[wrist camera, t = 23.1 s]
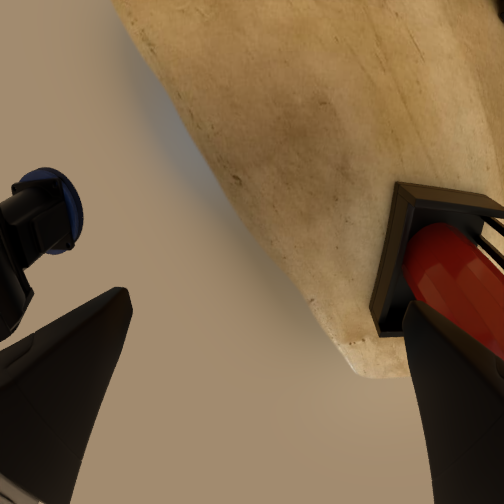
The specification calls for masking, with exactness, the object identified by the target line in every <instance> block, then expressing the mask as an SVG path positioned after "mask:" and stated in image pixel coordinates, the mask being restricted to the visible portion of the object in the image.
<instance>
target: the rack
mask: <svg viewBox="0 0 504 504" xmlns="http://www.w3.org/2000/svg"><path fill="white" fill-rule="evenodd" d="M495 218H501V219H504V207H503V206H501V205H500V204H498V203H497V202H495V201H494V200H492V199H491V198H489V197H487V196H486V195H482V194H477V193H471V192H465V191H459V190H453V189H447V188H440V187H434V186H426V185H419V184H411V183H403V182H395V187H394V193H393V200H392V206H391V211H390V217H389V222H388V228H387V233H386V238H385V243H384V247H383V252H382V257H381V261H380V266H379V270H378V274H377V278H376V282H375V286H374V290H373V294H372V298H371V301H370V305H369V309H370V312H371V315H372V318H373V321H374V324H375V327H376V330H377V333H378V336H379V338H382V337H404V335H403V330H402V321H403V318H404V315H405V313H406V310H407V307H408V304H409V303H410V301H416V299H415V297H414V295H413V294H412V292H411V290H410V288H409V286H408V285H407V282H406V281H405V279H404V277H403V275H402V271H401V267H402V263H403V259H404V255H405V251H406V247H407V243H408V242H409V241H410V239H411V238H412V237H413V236H414V235H415V234H416V233H417V232H418V231H419V230H421V229H422V228H424V227H425V226H428V225H430V224H433V223H448V224H450V225H452V226H454V227H455V228H457V229H458V230H459V231H460V232H461V233H462V234H463V235H464V236H465V237H467V238H468V239H469V240H470V241H471V242H472V243H473V244H474V245H475V246H476V247H477V246H478V245H480V246H481V247H482V248H483V249H484V250H485V251H486V252H487V253H488V254H489V255H490V256H491V257H492V258H493V259H494V260H495V261H496V262H497V263H498V264H499V265H500V266H501V267H502V268H503V269H504V256H503V255H502V254H501V253H500V252H499V251H498V250H497V249H496V248H495V247H494V246H493V245H492V244H491V243H489V242H488V241H487V240H486V239H485V238H484V237H483V236H482V235H481V232H482V229H483V225H484V221H485V222H486V223H487V224H489V225H490V226H491V227H492V228H494V229H495V230H496V231H497V232H499V233H500V234H501V235H502V236H503V237H504V225H503V224H502V223H501V222H499V221H498V220H497V219H495Z"/></svg>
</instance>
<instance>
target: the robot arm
mask: <svg viewBox="0 0 504 504" xmlns="http://www.w3.org/2000/svg"><path fill="white" fill-rule="evenodd" d="M56 183H57V185H56ZM11 189H12V194H13V196H12V197H10V198H8V199H6V200H5V201H3V202H1V203H0V342H1V341H3V340H5V339H6V338H8V337H9V336H11V334H12V333H13V332H14V331H15V330H16V329H17V327H18V325H19V323H20V322H21V319H22V317H23V315H24V313H25V311H26V309H27V307H28V305H29V303H30V301H31V299H32V297H33V296H34V291H33V289H32V288H31V287H30V285H29V283H28V281H27V279H26V276H25V274H24V270H25V269H27V268H28V267H30V266H31V265H32V264H33V263H34V262H35V261H36V260H37V259H38V258H40V257H41V256H42V255H43V254H45V253H46V252H47V251H48V250H49V249H51V250H72V249H73V248H74V246H75V243H74V239H73V235H72V231H71V226H70V222H69V217H68V212H67V207H66V202H65V197H64V191H63V186H62V181H61V179H60V178H58V177H55V178H47V179H39V180H31V181H24V182H18V183H15V184H13V185H12V187H11ZM68 243H69V244H70V245H69V244H68ZM132 314H133V308H132V304H131V300H130V296H129V292H128V290H127V289H126V288H124V287H114V288H112V289H110V290H108V291H107V292H104V293H103V294H101V295H99V296H97V297H95V298H94V299H92V300H90V301H88V302H86V303H85V304H83V305H81V306H79V307H78V308H76V309H74V310H72V311H71V312H69V313H67V314H65V315H63V316H62V317H60V318H58V319H56V320H55V321H53V322H51V323H49V324H48V325H46V326H44V327H42V328H41V329H39V330H37V331H36V332H35V333H32V334H30V335H29V336H27V337H25V338H23V339H22V340H20V341H18V342H16V343H15V344H13V345H11V346H9V347H7V348H5V349H3V350H1V351H0V504H38V502H39V501H40V502H42V503H44V504H70V501H71V497H72V494H73V490H74V486H75V483H76V479H77V476H78V472H79V469H80V466H81V463H82V461H81V460H82V459H83V456H84V453H85V449H86V446H87V443H88V440H89V437H90V434H91V431H92V428H93V426H94V423H95V420H96V417H97V414H98V411H99V409H100V406H101V403H102V401H103V398H104V395H105V392H106V390H107V387H108V385H109V382H110V379H111V377H112V374H113V372H114V369H115V367H116V364H117V362H118V359H119V356H120V354H121V351H122V348H123V344H124V341H125V338H126V334H127V331H128V328H129V324H130V321H131V317H132ZM402 330H403V335H404V341H405V346H406V353H407V359H408V365H409V369H410V373H411V377H412V381H413V385H414V389H415V393H416V398H417V402H418V406H419V411H420V415H421V420H422V425H423V430H424V435H425V440H426V446H427V452H428V458H429V464H430V470H431V478H432V487H433V496H434V504H504V360H502V359H501V358H500V357H499V356H497V355H496V356H495V353H493V352H492V351H491V350H489V349H488V348H487V347H485V346H484V345H483V344H481V343H480V342H479V341H477V340H476V339H475V338H473V337H472V336H471V335H469V334H468V333H467V332H465V331H464V330H463V329H461V328H460V327H458V326H457V325H456V324H454V323H453V322H452V321H450V320H449V319H447V318H446V317H445V316H443V315H442V314H440V313H439V312H438V311H436V310H435V309H433V308H432V307H430V306H429V305H428V304H426V303H425V302H423V301H421V300H418V301H410V303H409V304H408V307H407V310H406V313H405V315H404V318H403V321H402Z"/></svg>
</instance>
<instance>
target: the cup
mask: <svg viewBox="0 0 504 504" xmlns="http://www.w3.org/2000/svg"><path fill="white" fill-rule="evenodd" d="M401 271H402V275H403V277H404V279H405V281H406V282H407V285H408V286H409V288H410V290H411V292H412V294H413V295H414V297H415V299H416V301H418V300H421V301H423V302H425V303H426V304H428V305H429V306H430V307H432V308H433V309H435V310H436V311H438V312H439V313H440V314H442V315H443V316H445V317H446V318H447V319H449V320H450V321H452V322H453V323H454V324H456V325H457V326H458V327H460V328H461V329H463V330H464V331H465V332H467V333H468V334H469V335H471V336H472V337H473V338H475V339H476V340H477V341H479V342H480V343H481V344H483V345H484V346H485V347H487V348H488V349H489V350H491V351H492V352H493V353H495V356H496V355H497V356H499V357H500V358H501V359H502V360H504V275H503V274H502V273H501V271H500V270H499V269H498V268H497V267H496V266H495V265H494V264H493V263H492V262H491V261H490V260H489V259H488V258H487V257H486V256H485V255H484V254H483V253H482V252H481V251H480V250H479V249H478V248H477V247H476V246H475V245H474V244H473V243H472V242H471V241H470V240H469V239H468V238H467V237H465V236H464V235H463V234H462V233H461V232H460V231H459V230H458V229H457V228H455V227H454V226H452V225H450V224H448V223H433V224H430V225H428V226H425V227H424V228H422V229H421V230H419V231H418V232H417V233H416V234H415V235H414V236H413V237H412V238H411V239H410V241H409V242H408V243H407V247H406V251H405V255H404V259H403V263H402V267H401Z"/></svg>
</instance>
